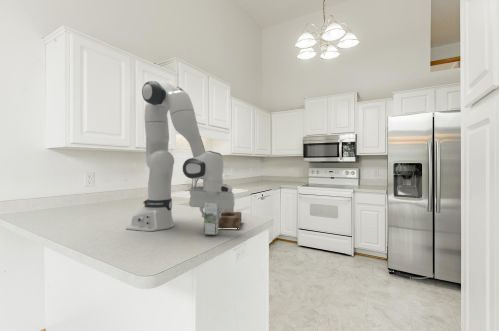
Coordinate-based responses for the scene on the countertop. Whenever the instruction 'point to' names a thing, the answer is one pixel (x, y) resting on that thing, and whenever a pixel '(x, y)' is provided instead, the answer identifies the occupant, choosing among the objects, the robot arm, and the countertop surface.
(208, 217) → the syrup box
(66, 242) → the countertop surface
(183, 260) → the countertop surface
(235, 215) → the walnut caddy
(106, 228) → the countertop surface
